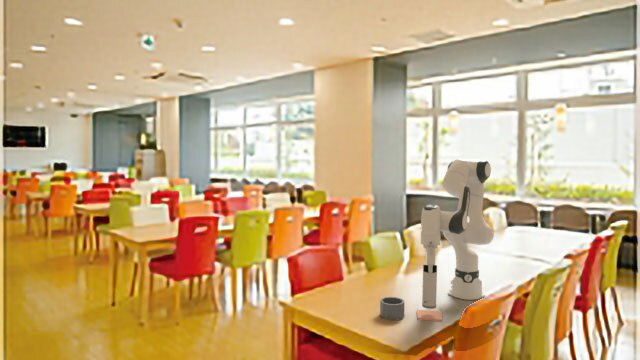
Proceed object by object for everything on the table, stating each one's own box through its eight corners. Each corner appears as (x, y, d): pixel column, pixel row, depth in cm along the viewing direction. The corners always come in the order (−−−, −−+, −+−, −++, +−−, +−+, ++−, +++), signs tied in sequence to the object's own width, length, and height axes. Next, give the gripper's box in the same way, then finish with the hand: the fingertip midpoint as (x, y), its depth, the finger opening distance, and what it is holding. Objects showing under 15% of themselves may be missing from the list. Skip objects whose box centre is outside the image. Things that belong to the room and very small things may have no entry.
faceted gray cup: (381, 310, 221) (381, 296, 220) (404, 312, 219) (404, 297, 218) (379, 318, 210) (379, 304, 210) (403, 320, 208) (404, 305, 207)
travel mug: (424, 309, 209) (425, 265, 208) (420, 304, 216) (421, 262, 214) (438, 309, 210) (439, 265, 208) (433, 304, 216) (434, 262, 215)
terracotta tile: (417, 311, 220) (417, 309, 220) (441, 312, 218) (441, 311, 217) (417, 319, 209) (417, 317, 209) (442, 321, 207) (442, 319, 207)
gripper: (438, 245, 200) (438, 276, 201) (436, 236, 220) (436, 264, 221) (423, 244, 201) (423, 275, 202) (423, 236, 221) (422, 264, 222)
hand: (430, 270), depth 212 cm, fingers closed on travel mug, 6 cm apart
